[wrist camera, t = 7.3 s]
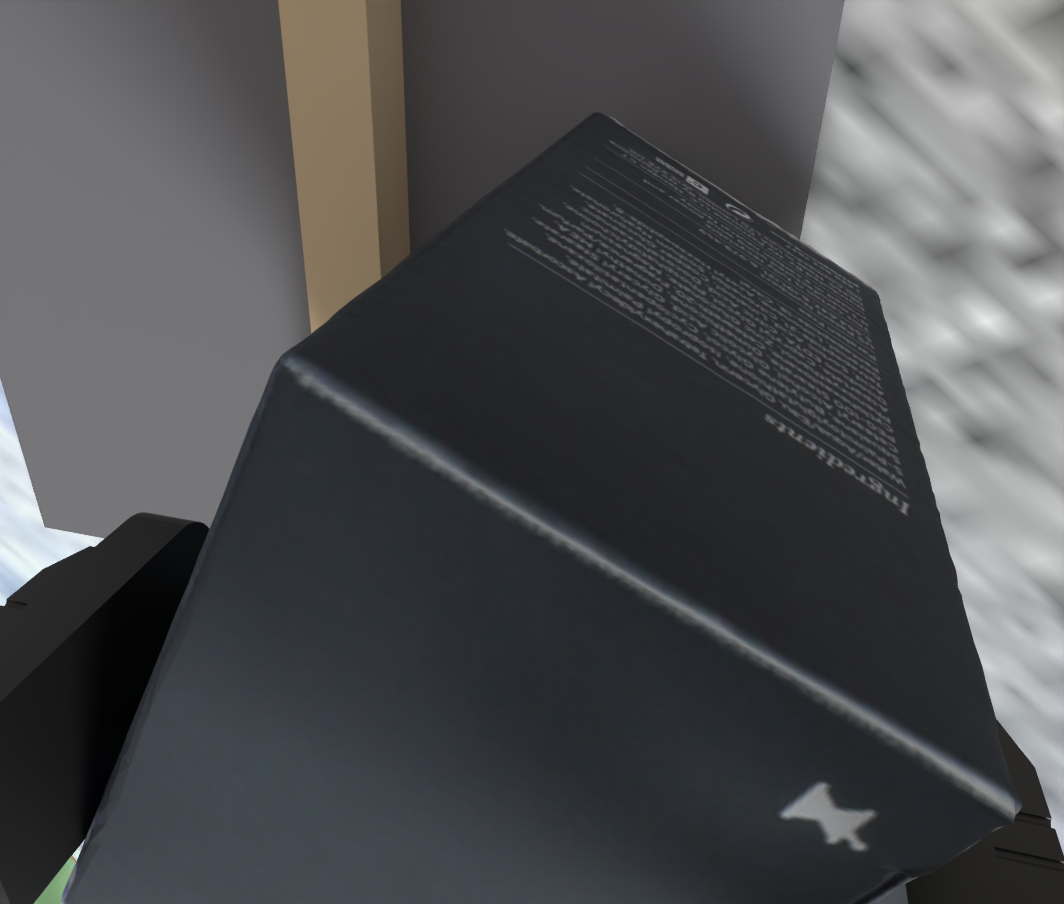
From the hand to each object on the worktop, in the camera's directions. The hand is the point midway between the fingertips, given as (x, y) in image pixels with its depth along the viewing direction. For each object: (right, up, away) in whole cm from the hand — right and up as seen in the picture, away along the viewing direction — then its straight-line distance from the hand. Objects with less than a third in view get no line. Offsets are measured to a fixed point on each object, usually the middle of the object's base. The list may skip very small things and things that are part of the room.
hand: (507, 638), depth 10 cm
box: (+2, +4, +7) cm, 8 cm away
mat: (-4, +6, +8) cm, 11 cm away
